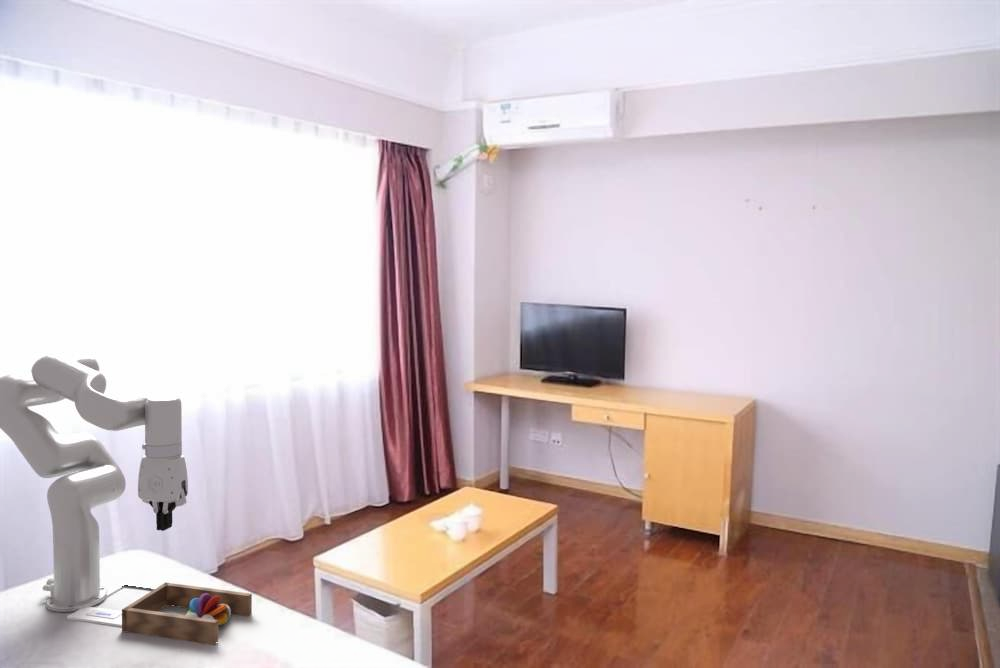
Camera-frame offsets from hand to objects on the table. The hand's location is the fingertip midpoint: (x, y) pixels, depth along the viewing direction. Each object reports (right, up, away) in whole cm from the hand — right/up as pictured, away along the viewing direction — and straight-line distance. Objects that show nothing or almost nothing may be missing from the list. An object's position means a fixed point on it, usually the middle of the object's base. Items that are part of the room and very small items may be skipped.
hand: (164, 528), depth 156 cm
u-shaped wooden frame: (+6, -22, 0) cm, 23 cm away
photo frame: (-14, -21, +8) cm, 27 cm away
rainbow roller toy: (+10, -22, 0) cm, 25 cm away
